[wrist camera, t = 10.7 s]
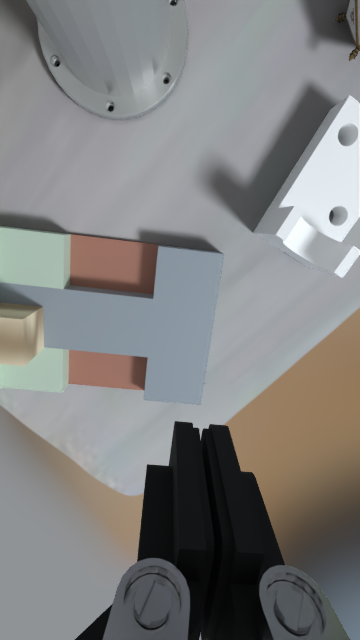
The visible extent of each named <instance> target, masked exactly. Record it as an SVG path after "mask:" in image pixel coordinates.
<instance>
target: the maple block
mask: <svg viewBox="0 0 360 640" xmlns="http://www.w3.org/2000/svg"><path fill="white" fill-rule="evenodd" d="M43 348H44V322H43V306H32V305H22V304H11V303H0V364H4V365H16V366H26V365H27V364H28V363H29V362H30V361H31V360H32V359H33V358H34V357H35V356H36V355H37V354H38V353H39V352H40V351H41V350H42V349H43Z"/></svg>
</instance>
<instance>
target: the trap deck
mask: <svg viewBox="0 0 360 640" xmlns="http://www.w3.org/2000/svg"><path fill="white" fill-rule="evenodd" d="M223 259H224V254H223V253H221V252H215V251H207V250H199V249H190V248H182V247H174V246H165V245H157V244H149V243H140V242H132V241H124V240H115V239H107V238H99V237H90V236H82V235H74V234H65V233H57V232H49V231H40V230H32V229H24V228H15V227H7V226H0V303H11V304H22V305H32V306H43V322H44V348H43V349H42V350H41V351H40V352H39V353H38V354H37V355H36V356H35V357H34V358H33V359H32V360H31V361H30V362H29V363H28V364H27V365H26V366H16V365H4V364H0V389H1V388H13V389H25V390H36V391H47V392H59V393H63V391H64V390H65V388H66V387H67V385H68V384H79V385H90V386H102V387H113V388H124V389H135V390H144V400H150V401H161V402H172V403H184V404H195V405H201V399H202V392H203V386H204V380H205V373H206V367H207V361H208V354H209V348H210V342H211V335H212V329H213V323H214V316H215V310H216V304H217V297H218V291H219V285H220V278H221V272H222V266H223Z"/></svg>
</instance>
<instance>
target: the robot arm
mask: <svg viewBox="0 0 360 640" xmlns="http://www.w3.org/2000/svg"><path fill="white" fill-rule="evenodd" d="M26 2H27V3H28V5H29V6H30V8H31V9H32V11H33V12H34V14H35V16H36V17H37V26H38V37H39V41H40V45H41V49H42V53H43V56H44V58H45V60H46V63H47V65H48V67H49V70H50V71H51V73H52V75H53V76H54V78H55V79H56V81H57V83H58V84H59V85H60V87H61V88H62V89H63V90H64V92H65V93H66V94H67V95H68V96H69V97H70V98H71V99H72V100H73V101H74V102H75V103H76V104H77V105H79V106H80V107H82V108H83V109H85V110H86V111H88V112H89V113H92V114H94V115H97V116H99V117H101V118H106V119H111V120H129V119H133V118H137V117H141V116H143V115H145V114H147V113H149V112H151V111H153V110H154V109H155V108H156V107H158V106H159V105H160V104H161V103H163V101H164V100H165V99H166V98H167V97H168V96H169V94H170V93H171V92H172V90H173V89H174V87H175V85H176V83H177V82H178V80H179V78H180V75H181V72H182V69H183V67H184V63H185V58H186V52H187V44H188V21H187V13H186V9H185V4H184V0H26ZM173 3H174V4H175V5H176V6H172V5H171V4H173ZM58 63H60V65H59V66H58V67H56V65H57V64H58ZM164 80H168V81H169V83H168V84H165V83H164ZM110 107H114V110H113V111H112V112H110V111H109V108H110ZM200 632H201V639H202V640H350V639H349V637H348V635H347V633H346V632H345V630H344V628H343V626H342V624H341V622H340V621H339V619H338V617H337V615H336V613H335V611H334V610H333V608H332V606H331V604H330V602H329V600H328V598H327V597H326V595H325V594H324V593H323V591H322V590H321V588H320V587H319V586H318V585H317V584H316V583H315V582H314V581H313V580H312V579H311V578H310V577H309V576H308V575H306V574H305V573H303V572H302V571H300V570H299V569H296V568H293V567H290V566H285V564H284V561H283V558H282V555H281V552H280V549H279V546H278V543H277V540H276V538H275V534H274V531H273V528H272V525H271V522H270V519H269V516H268V513H267V510H266V507H265V505H264V501H263V498H262V495H261V493H260V490H259V487H258V484H257V481H256V478H255V476H254V474H253V473H252V472H241V470H240V466H239V463H238V459H237V456H236V452H235V449H234V446H233V442H232V438H231V435H230V431H229V428H228V426H225V425H213V424H210V425H209V429H203V431H202V437H201V441H200V433H199V428H193V424H192V423H189V422H177V421H175V424H174V431H173V438H172V446H171V453H170V461H169V466H161V465H147V470H146V480H145V489H144V499H143V509H142V519H141V529H140V539H139V549H138V559H137V563H135V564H134V565H132V566H131V567H130V568H129V569H128V570H127V571H126V573H125V574H124V575H123V576H122V578H121V581H120V583H119V585H118V588H117V591H116V594H115V598H114V601H113V604H112V605H111V606H110V607H109V608H108V609H107V610H106V611H105V612H103V613H102V614H101V615H100V616H99V617H98V618H97V619H96V620H95V621H94V622H93V623H92V624H91V625H90V626H89V627H88V628H87V629H86V630H85V631H83V633H81V634H80V635H79V636H78V637H77V638H76V639H75V640H199V637H200Z"/></svg>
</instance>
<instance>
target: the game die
mask: <svg viewBox="0 0 360 640" xmlns="http://www.w3.org/2000/svg"><path fill="white" fill-rule="evenodd" d="M345 18H346V20H347V23H348V26H349V29H350V31H351V34H352V37H353V40H354V43H355V46H356V49H355V50H352V53H350V57H349V61H350V60H352V59H355V57H356V56H357V54H358V51H360V0H349V2H348V6H347V10H346V13H342V14H339V16H338V17H337V18H336V20H337V21H339V23H340V22H341V21H343V20H344V19H345Z"/></svg>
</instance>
